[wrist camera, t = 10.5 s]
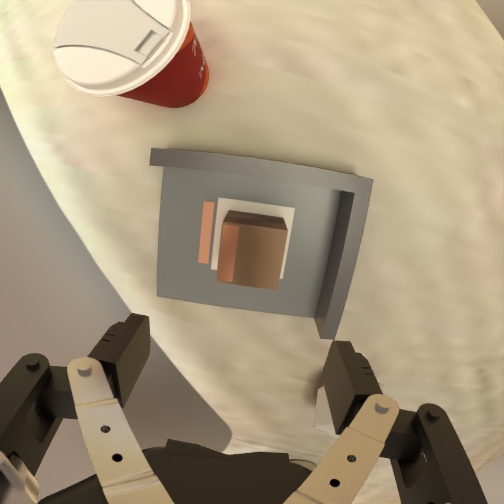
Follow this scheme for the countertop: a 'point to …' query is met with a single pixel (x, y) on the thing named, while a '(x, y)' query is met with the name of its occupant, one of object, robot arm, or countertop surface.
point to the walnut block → (251, 250)
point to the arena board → (266, 203)
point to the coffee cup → (132, 51)
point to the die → (325, 413)
